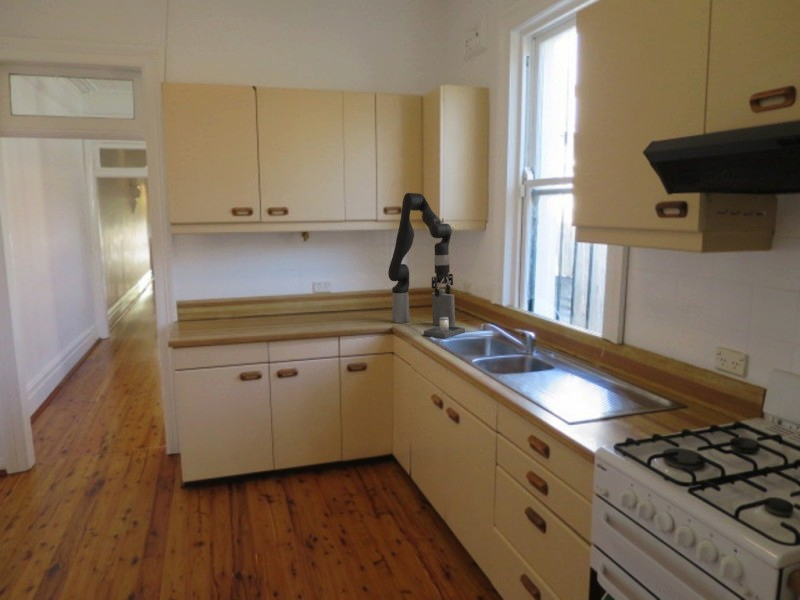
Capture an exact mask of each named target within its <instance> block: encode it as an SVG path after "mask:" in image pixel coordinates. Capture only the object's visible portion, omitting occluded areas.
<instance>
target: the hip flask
mask: <svg viewBox="0 0 800 600" xmlns="http://www.w3.org/2000/svg"><path fill="white" fill-rule="evenodd" d="M439 295H440V296H439V297H436V296H435V292H431V308H432V309H431V312H432V315H431V316H432V325H435V326H440V321H439V320H440V317H448V321H449V326H455V327H456V315H455V314H456V313H455V312H456V308H455V294H453V293H452V294H451V293H450V294H446V289H444V288H443V289H439Z"/></svg>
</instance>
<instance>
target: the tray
mask: <svg viewBox="0 0 800 600" xmlns="http://www.w3.org/2000/svg"><path fill="white" fill-rule="evenodd" d="M465 329H466V328H465V327H463V326H462V327H461V326H456V325H455V326H449V332H447V333H440V326H439V325H437V326H435V327H431V328H428V329H425V330H423V336H425V335H428V336H427V337H431V336H433V338H439V339H448V338H449V339H450V338H451V337H455V336H459V335H461V334H464V333H465V332H466V331H465Z"/></svg>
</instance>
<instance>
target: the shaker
mask: <svg viewBox="0 0 800 600" xmlns="http://www.w3.org/2000/svg"><path fill="white" fill-rule="evenodd" d="M439 321H440V333H447V332H449V321H448V317H440V320H439Z"/></svg>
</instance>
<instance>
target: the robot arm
mask: <svg viewBox="0 0 800 600" xmlns="http://www.w3.org/2000/svg"><path fill="white" fill-rule="evenodd" d="M411 211H416V212H418V211H419V212H421V213H422V214H421V219H422V221H423V223H424V225H425V226H427V228H428V230H429V234H430V235H431V237H432V238H434V239H441V241H440V242H437V243H435V244H434V260H433V261H434V273H435V276H431V289H433V290H434V293H435V296H436V297H439V296H440V295H439V290H440V288H441V286H442V285H443V284H444V285H445V294H451V287H452V286H454V275H453V273H450V272H451V271H450V256H449V255H450V253H449V252H450V251H449V246H450V241H451V236H452V232H453V231H452V226H451V225H450V224H448V223H442V222H441V218H439V217H438V215H437V214H436V213H435V212H434V211H433V209H432V208H431V206H430V205H429V203H428V201H427V199H426V198H425V196H424V194H421V193H419V192H417V193H416V192H406V193H405V195H404V196H403V200H402V205H401V215H400V221H399V227H398V229H397V234H396V240H395V245H394V249H393V254H392V258H391V261H390V264H389V267H388V271H387V274H388V278H389V280H390V281H391V282H396V284H395V286H393V287H392V288H391V290H392V291H391V292H392V305H391V318H392V322H394V323H396V324H404V323H410V322H411V321H410V320H411V319H410V299H409V297H410V296H409V290H410V289H409V288H410V269H409V267H408V265H407V264H405V263H403V259H404V258H405V257H406V255H407V254H408V252H409V251H410V250H411V249H412V246H413V243H414V237H415V230H414V228H413V226H412V224H411V223H412V222H411V220H410V219H411V217H410V216H411Z"/></svg>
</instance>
